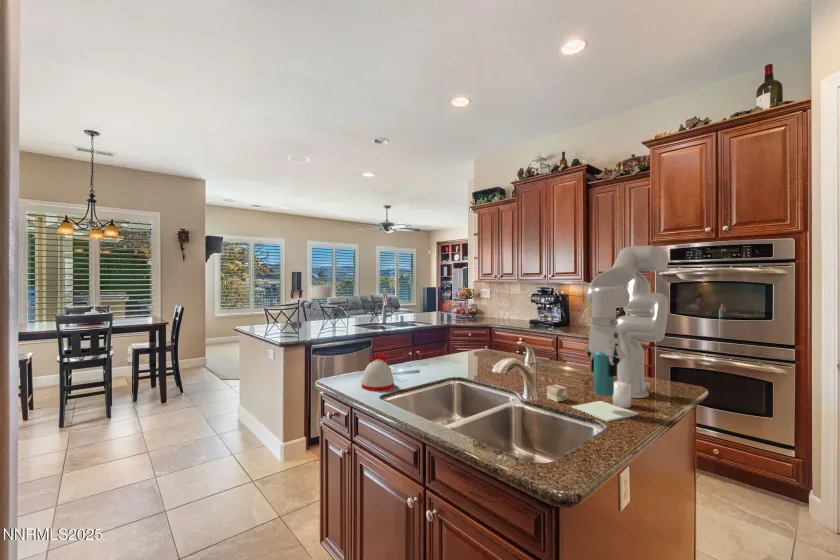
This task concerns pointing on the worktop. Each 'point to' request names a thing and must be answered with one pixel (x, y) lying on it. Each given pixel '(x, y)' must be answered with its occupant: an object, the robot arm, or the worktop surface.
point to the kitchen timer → (377, 374)
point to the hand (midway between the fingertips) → (603, 373)
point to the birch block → (556, 393)
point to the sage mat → (605, 411)
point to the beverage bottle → (602, 375)
